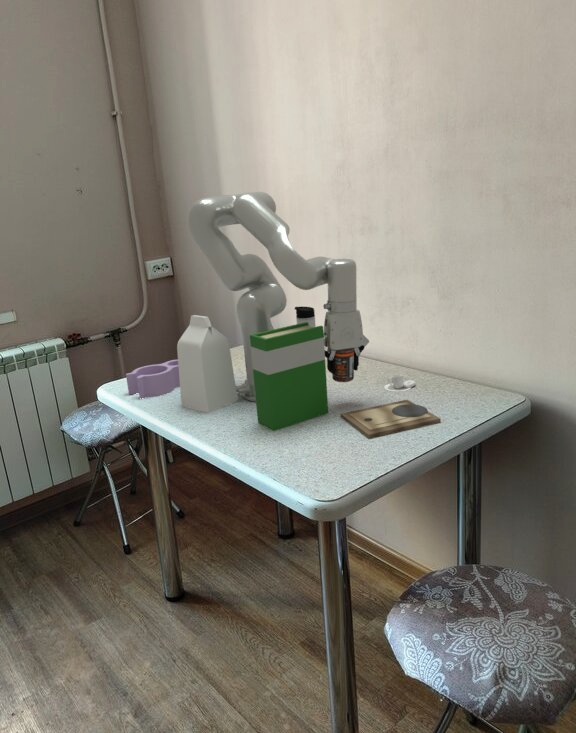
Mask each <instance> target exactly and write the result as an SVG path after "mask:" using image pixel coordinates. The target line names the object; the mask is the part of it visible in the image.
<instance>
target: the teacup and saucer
mask: <svg viewBox="0 0 576 733" xmlns="http://www.w3.org/2000/svg"><path fill="white" fill-rule="evenodd" d="M390 379H391V381H392V382H390ZM403 379H404V375H403V374H401V373H395V374H392V375H391V376H389V377H388V379H387V381H388V384H385V385H384V387H383V388H384V390H386V391H389V392H394V393H397V392H398V393H400V392H407V391H410V390H411V389H412V387H414V386H415V385H416V381H415V380H406V381H404V380H403ZM390 386H391V387H393V388H394V389H397V390H393V389H390V388H389V387H390ZM402 387H404V389H401V388H402ZM398 389H399V390H398ZM400 389H401V390H400Z"/></svg>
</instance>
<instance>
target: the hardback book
mask: <svg viewBox="0 0 576 733" xmlns="http://www.w3.org/2000/svg"><path fill="white" fill-rule="evenodd" d="M250 344H251V354H252V364H253V375H254V385H255V395H256V401H255V405H256V415H257V424H259V425H261V426H262V427H265V428H267V429H268V430H270V431H272V432H274V431H278V430H281V429H284V428H287V427H289V426H293V425H296V424H299V423H302V422H306V421H308V420H311V419H314V418H318V417H320V416H323V415H326V414H329V401H328V388H327V386H328V384H327V370H326V368H327V367H326V357H325V350H326V349H325V346H324V325H317V326H316V327H311V326H309V324H308V322H305V323H300V324H297V323H296V324H293V325H288V326H282V327H278V328H275V329H274V330H269V331H265V332H260V333H256V334H252V335H250Z"/></svg>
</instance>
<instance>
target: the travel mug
mask: <svg viewBox="0 0 576 733" xmlns="http://www.w3.org/2000/svg"><path fill="white" fill-rule="evenodd" d="M294 310H295V311H296V313H295V314H296V316H295V317H296V318H295V319H296V324H300V323H305V322H308V324H309V326H311V327H317V326H316V314H315V313H316V312H315V308H314V307H311V306H294Z"/></svg>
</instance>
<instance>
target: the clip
mask: <svg viewBox="0 0 576 733" xmlns="http://www.w3.org/2000/svg"><path fill="white" fill-rule="evenodd" d="M125 378H126V383H127V384H126V385H127V390H128V395H129V394H136V393H139V394H138V395H139V399H140V398H141V399H140V400H143V399H142V398H144V399H146V398H154V397H153V396H155V397H160V395H161V396H164V394H165V395H167V393H168V394H170V393H172V392H173V391H175V389H177V388H180V379H179V366H178V359H172V360H168V361H165V362H163V363H158V364H149V365H148V364H147V365H145V366H141V367H137V368H135V369H134V370H132V372H129V373H125ZM136 395H137V394H136ZM145 397H146V398H145Z"/></svg>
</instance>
